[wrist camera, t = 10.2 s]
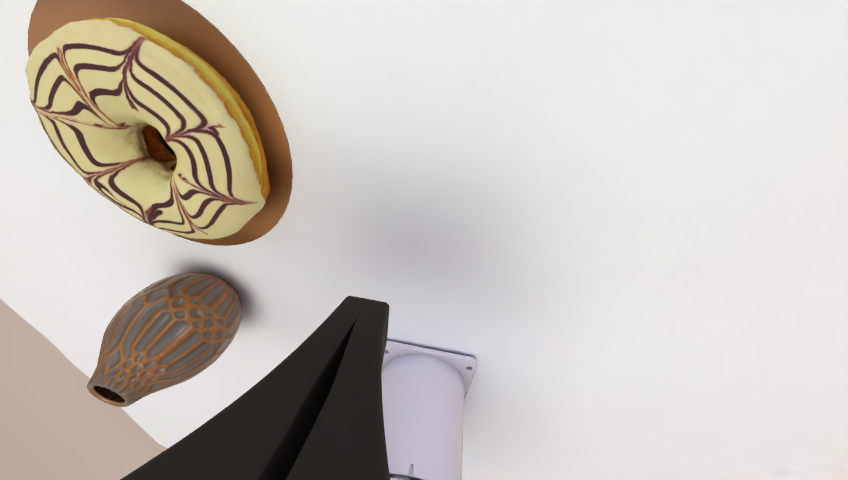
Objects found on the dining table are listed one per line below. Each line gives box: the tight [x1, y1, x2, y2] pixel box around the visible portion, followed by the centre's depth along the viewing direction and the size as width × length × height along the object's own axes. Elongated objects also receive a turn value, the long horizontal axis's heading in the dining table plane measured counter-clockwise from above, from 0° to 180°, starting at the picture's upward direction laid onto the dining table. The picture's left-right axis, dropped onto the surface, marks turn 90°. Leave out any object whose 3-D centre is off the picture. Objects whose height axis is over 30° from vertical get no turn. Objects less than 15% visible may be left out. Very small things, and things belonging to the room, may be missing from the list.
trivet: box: [28, 0, 292, 245], centre depth 18 cm, size 15×15×1 cm
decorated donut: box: [26, 18, 270, 239], centre depth 16 cm, size 10×11×4 cm
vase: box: [87, 273, 242, 407], centre depth 21 cm, size 7×7×9 cm
